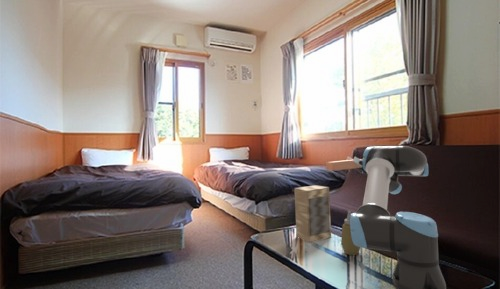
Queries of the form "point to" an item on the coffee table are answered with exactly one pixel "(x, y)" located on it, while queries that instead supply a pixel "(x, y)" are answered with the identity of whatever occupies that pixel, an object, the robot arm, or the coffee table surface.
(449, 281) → the coffee table surface
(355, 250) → the squeeze bottle
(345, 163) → the rail
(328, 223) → the stand
